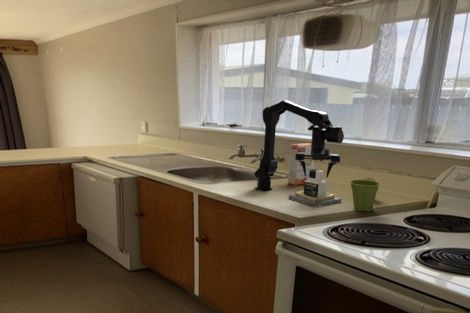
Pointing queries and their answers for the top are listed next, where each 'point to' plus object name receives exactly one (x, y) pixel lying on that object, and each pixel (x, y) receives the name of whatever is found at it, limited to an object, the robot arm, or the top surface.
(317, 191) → the medicine bottle
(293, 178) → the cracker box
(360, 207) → the plant pot
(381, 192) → the top surface
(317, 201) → the picture frame
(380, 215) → the top surface
